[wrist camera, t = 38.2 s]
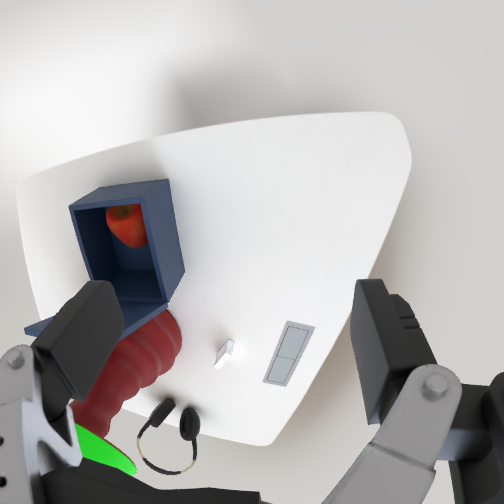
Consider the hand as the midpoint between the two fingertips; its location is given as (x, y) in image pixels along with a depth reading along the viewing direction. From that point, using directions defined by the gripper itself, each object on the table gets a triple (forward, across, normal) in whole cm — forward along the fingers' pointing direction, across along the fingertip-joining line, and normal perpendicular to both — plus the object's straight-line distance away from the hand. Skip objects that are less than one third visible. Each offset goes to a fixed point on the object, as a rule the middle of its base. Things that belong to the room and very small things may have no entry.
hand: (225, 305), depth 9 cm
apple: (+32, +20, +12) cm, 40 cm away
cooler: (+34, +21, +11) cm, 42 cm away
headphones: (+34, +25, +59) cm, 73 cm away
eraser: (+34, +10, +36) cm, 51 cm away
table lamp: (+34, +28, +32) cm, 55 cm away
